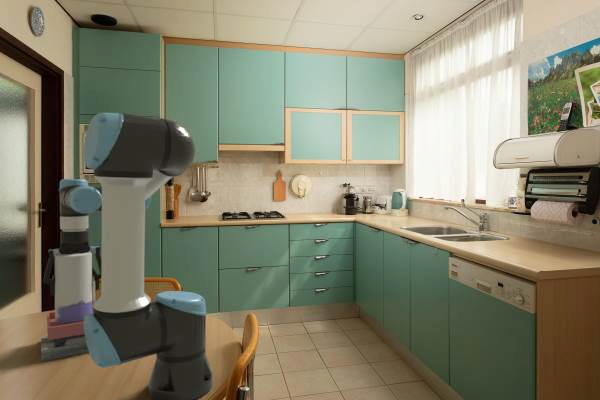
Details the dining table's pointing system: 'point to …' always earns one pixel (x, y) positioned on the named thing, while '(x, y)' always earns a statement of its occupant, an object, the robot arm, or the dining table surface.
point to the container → (73, 287)
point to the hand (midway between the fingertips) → (75, 303)
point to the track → (63, 348)
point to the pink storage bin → (62, 329)
